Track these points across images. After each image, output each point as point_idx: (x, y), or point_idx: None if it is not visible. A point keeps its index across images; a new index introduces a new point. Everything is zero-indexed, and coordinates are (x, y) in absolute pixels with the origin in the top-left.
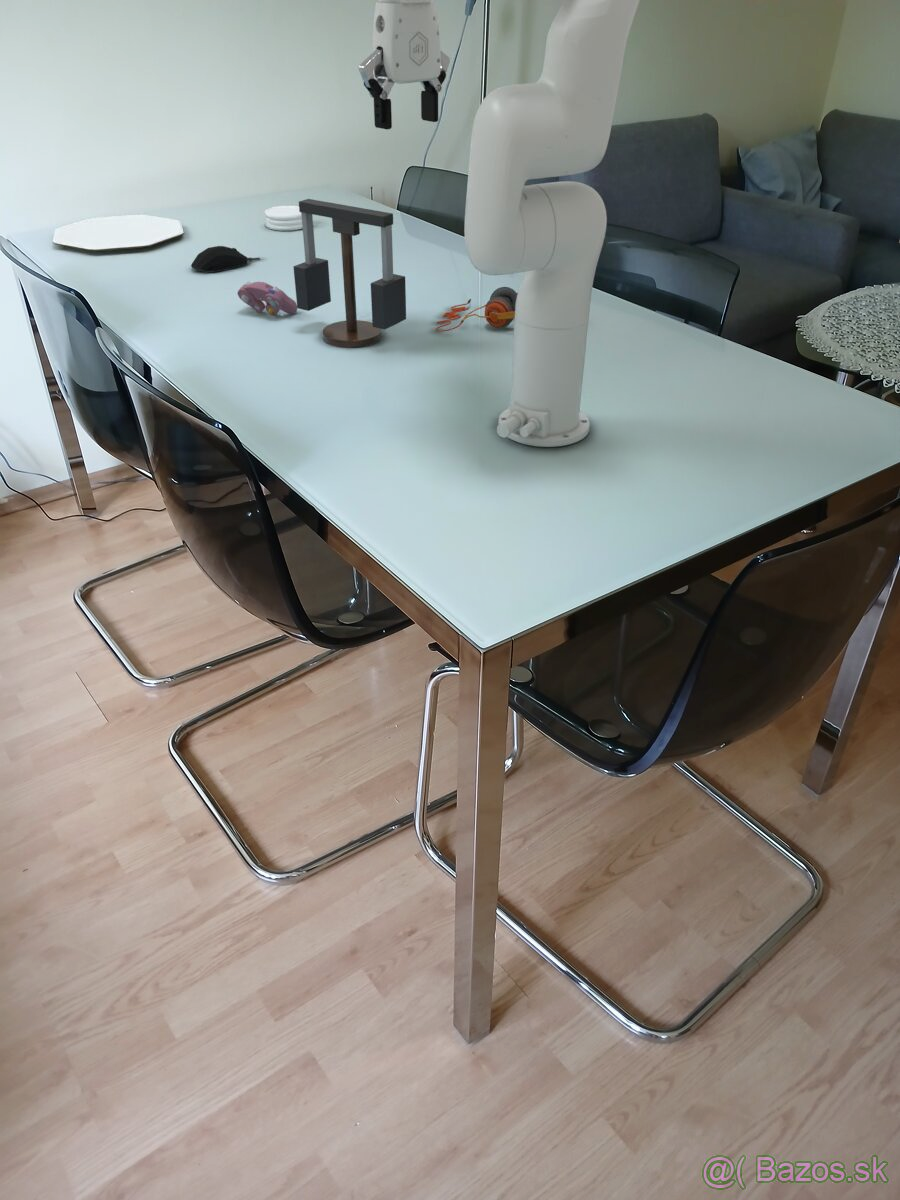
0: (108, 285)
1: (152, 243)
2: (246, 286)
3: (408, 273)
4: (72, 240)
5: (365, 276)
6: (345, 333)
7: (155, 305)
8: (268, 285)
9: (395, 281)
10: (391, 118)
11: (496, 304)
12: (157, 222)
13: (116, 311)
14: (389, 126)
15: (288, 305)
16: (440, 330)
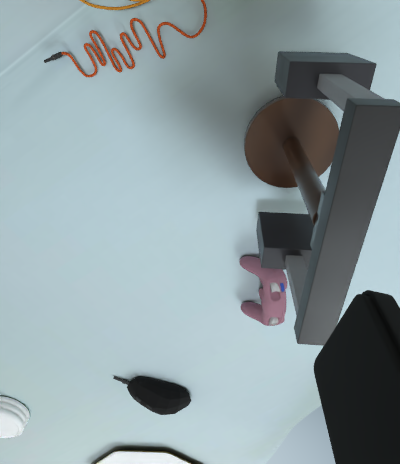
0: (267, 425)
1: (160, 453)
2: (282, 318)
3: (15, 227)
4: None
5: (70, 264)
6: (308, 145)
7: (297, 373)
8: (272, 299)
9: (328, 62)
10: (380, 331)
11: None
12: None
13: None
14: (390, 299)
15: None
16: (205, 17)
